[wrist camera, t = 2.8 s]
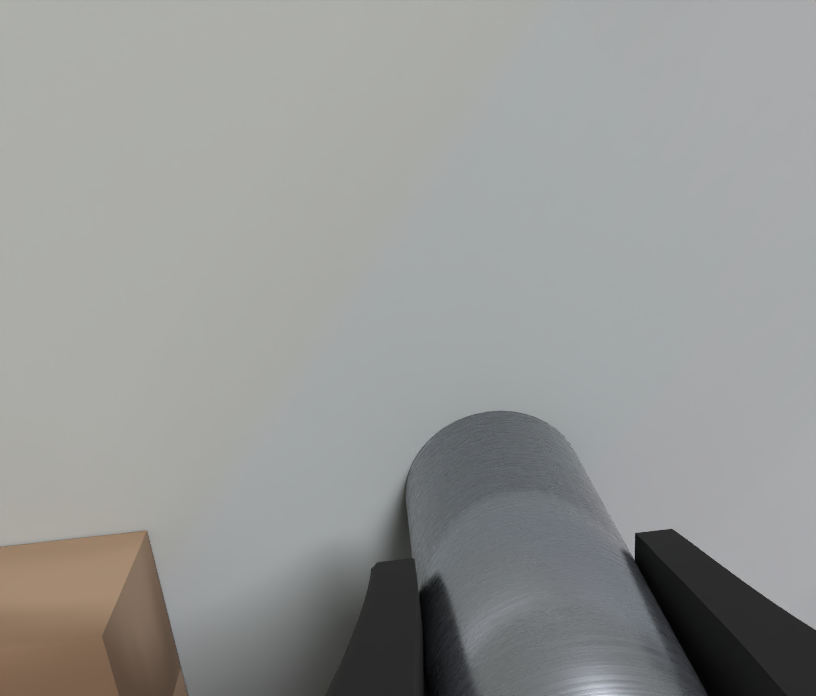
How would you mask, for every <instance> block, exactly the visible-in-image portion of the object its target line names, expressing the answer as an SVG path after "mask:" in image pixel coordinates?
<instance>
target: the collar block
mask: <svg viewBox="0 0 816 696" xmlns="http://www.w3.org/2000/svg"><path fill="white" fill-rule="evenodd" d="M0 696H188V694H187V690H186V686H185V682H184V678H183V674H182V670H181V666H180V662H179V658H178V654H177V650H176V646H175V642H174V638H173V634H172V630H171V626H170V622H169V618H168V614H167V610H166V606H165V602H164V598H163V594H162V589H161V585H160V581H159V577H158V573H157V569H156V565H155V561H154V557H153V553H152V549H151V545H150V541H149V537H148V533H147V531H140V532H131V533H122V534H113V535H104V536H95V537H86V538H77V539H68V540H59V541H50V542H41V543H32V544H23V545H14V546H5V547H0Z"/></svg>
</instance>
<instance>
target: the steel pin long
mask: <svg viewBox="0 0 816 696" xmlns="http://www.w3.org/2000/svg"><path fill="white" fill-rule="evenodd" d="M406 507H407V516H408V525H409V533H410V542H411V551H412V558H415V566H416V573H417V581H418V590H419V600H420V610H421V619H422V629H423V642H424V661H425V672H426V681H427V690H428V696H708V694H707V692H706V690H705V689H704V687H703V685H702V683H701V681H700V679H699V678H698V676H697V674H696V672H695V670H694V669H693V667H692V665H691V663H690V661H689V659H688V658H687V656H686V654H685V652H684V650H683V648H682V647H681V645H680V643H679V641H678V639H677V637H676V636H675V634H674V632H673V630H672V628H671V627H670V625H669V623H668V621H667V619H666V617H665V616H664V614H663V612H662V610H661V608H660V606H659V605H658V603H657V601H656V599H655V597H654V596H653V594H652V592H651V590H650V588H649V586H648V585H647V583H646V581H645V579H644V577H643V575H642V574H641V572H640V570H639V568H638V566H637V564H636V563H635V561H634V559H633V557H632V555H631V554H630V552H629V550H628V548H627V546H626V544H625V543H624V541H623V539H622V537H621V535H620V533H619V532H618V530H617V528H616V526H615V524H614V522H613V521H612V519H611V517H610V515H609V513H608V512H607V510H606V508H605V506H604V504H603V502H602V501H601V499H600V497H599V495H598V493H597V491H596V490H595V488H594V486H593V484H592V482H591V480H590V479H589V477H588V475H587V473H586V471H585V470H584V468H583V466H582V464H581V462H580V460H579V459H578V457H577V455H576V453H575V451H574V450H573V448H572V446H571V445H570V443H569V442H568V441H567V440H566V439H565V437H564V436H563V435H562V434H561V433H560V432H558V431H557V430H556V429H555V428H554V427H552V426H551V425H549V424H548V423H546V422H544V421H542V420H540V419H538V418H536V417H533V416H529V415H526V414H522V413H517V412H509V411H492V412H484V413H479V414H475V415H471V416H468V417H465V418H463V419H460V420H458V421H456V422H454V423H452V424H450V425H449V426H447V427H445V428H444V429H442V430H441V431H440V432H438V433H437V434H436V435H434V436H433V437H432V438H431V439H430V440H429V441H428V442H427V443H426V444H425V446H424V447H423V448H422V449H421V451H420V452H419V454H418V455H417V457H416V458H415V460H414V462H413V464H412V467H411V469H410V471H409V475H408V479H407V484H406Z"/></svg>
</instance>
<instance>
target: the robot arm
mask: <svg viewBox="0 0 816 696" xmlns="http://www.w3.org/2000/svg"><path fill="white" fill-rule="evenodd" d="M635 563H636V564H637V566H638V568H639V570H640V572H641V574H642V575H643V577H644V579H645V581H646V583H647V585H648V586H649V588H650V590H651V592H652V594H653V596H654V597H655V599H656V601H657V603H658V605H659V606H660V608H661V610H662V612H663V614H664V616H665V617H666V619H667V621H668V623H669V625H670V627H671V628H672V630H673V632H674V634H675V636H676V637H677V639H678V641H679V643H680V645H681V647H682V648H683V650H684V652H685V654H686V656H687V658H688V659H689V661H690V663H691V665H692V667H693V669H694V670H695V672H696V674H697V676H698V678H699V679H700V681H701V683H702V685H703V687H704V689H705V690H706V692H707V694H708V696H816V630H815V629H813V628H811V627H810V626H808V625H807V624H805V623H803V622H802V621H800V620H799V619H797V618H796V617H794V616H793V615H791V614H790V613H788V612H787V611H785V610H784V609H782V608H781V607H779V606H778V605H776V604H775V603H773V602H772V601H770V600H769V599H767V598H766V597H764V596H763V595H762V594H760V593H759V592H757V591H756V590H755V589H753V588H752V587H750V586H749V585H747V584H746V583H745V582H743V581H742V580H741V579H739V578H738V577H736V576H735V575H734V574H732V573H731V572H730V571H728V570H727V569H726V568H724V567H723V566H722V565H720V564H719V563H717V562H716V561H715V560H713V559H712V558H711V557H709V556H708V555H707V554H705V553H704V552H703V551H701V550H700V549H699V548H697V547H696V546H695V545H693V544H692V543H691V542H689V541H688V540H687V539H685V538H684V537H683V536H681V535H680V534H678V533H677V532H676V531H674V530H673V529H667V530H659V531H650V532H641V533H635ZM326 696H428V690H427V681H426V672H425V661H424V642H423V629H422V619H421V610H420V600H419V590H418V581H417V573H416V566H415V558H412V559H404V560H395V561H386V562H378V563H377V564H376V565H375V566H374V567H373V568H372V569H371V576H370V581H369V586H368V590H367V594H366V598H365V601H364V604H363V607H362V610H361V613H360V617H359V620H358V622H357V625H356V627H355V630H354V633H353V635H352V638H351V640H350V643H349V645H348V648H347V651H346V653H345V655H344V658H343V660H342V662H341V664H340V666H339V669H338V671H337V673H336V675H335V677H334V679H333V681H332V683H331V685H330V687H329V690H328V692H327V694H326Z"/></svg>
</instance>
